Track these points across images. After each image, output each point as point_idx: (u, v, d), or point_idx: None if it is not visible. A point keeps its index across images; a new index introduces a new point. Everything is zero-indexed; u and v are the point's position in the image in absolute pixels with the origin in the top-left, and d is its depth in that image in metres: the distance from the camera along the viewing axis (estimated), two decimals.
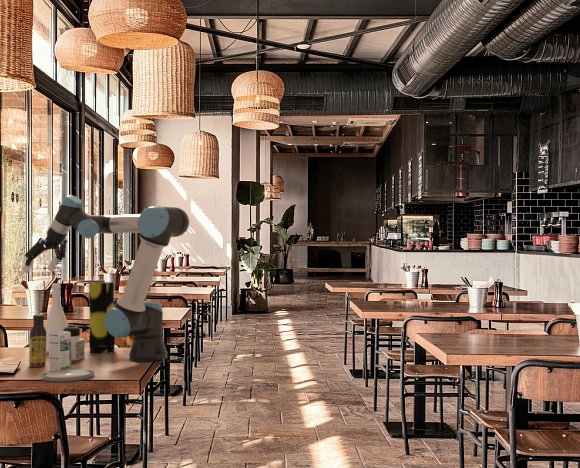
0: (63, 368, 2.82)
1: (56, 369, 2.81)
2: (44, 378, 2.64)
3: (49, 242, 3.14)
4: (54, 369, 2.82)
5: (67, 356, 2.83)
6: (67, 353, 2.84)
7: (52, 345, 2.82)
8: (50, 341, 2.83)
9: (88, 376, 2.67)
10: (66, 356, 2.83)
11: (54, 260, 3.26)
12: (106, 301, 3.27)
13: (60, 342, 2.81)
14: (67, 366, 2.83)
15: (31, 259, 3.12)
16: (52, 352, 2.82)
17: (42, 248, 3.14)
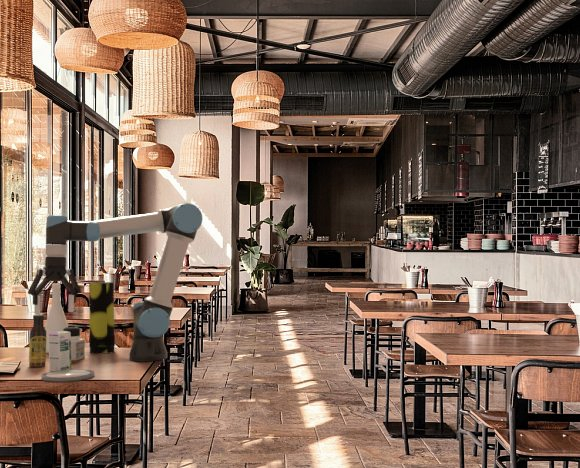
0: (63, 368, 2.82)
1: (56, 369, 2.81)
2: (44, 378, 2.64)
3: (49, 271, 2.84)
4: (54, 369, 2.82)
5: (67, 356, 2.83)
6: (67, 353, 2.84)
7: (52, 345, 2.82)
8: (50, 341, 2.83)
9: (88, 376, 2.67)
10: (66, 356, 2.83)
11: (70, 298, 2.91)
12: (106, 301, 3.27)
13: (60, 342, 2.81)
14: (67, 366, 2.83)
15: (35, 294, 2.80)
16: (52, 352, 2.82)
17: (44, 280, 2.83)
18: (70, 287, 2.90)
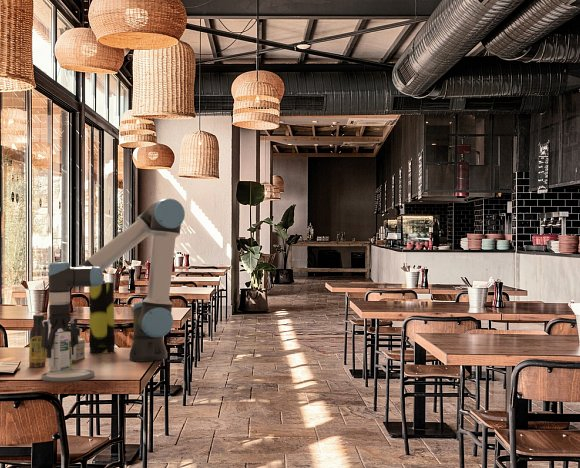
0: (63, 368, 2.82)
1: (56, 369, 2.81)
2: (44, 378, 2.64)
3: (53, 319, 2.81)
4: (54, 369, 2.82)
5: (67, 356, 2.83)
6: (67, 353, 2.84)
7: None
8: None
9: (88, 376, 2.67)
10: (66, 356, 2.83)
11: None
12: (106, 301, 3.27)
13: (60, 342, 2.81)
14: (67, 366, 2.83)
15: (49, 348, 2.80)
16: None
17: (52, 331, 2.82)
18: None
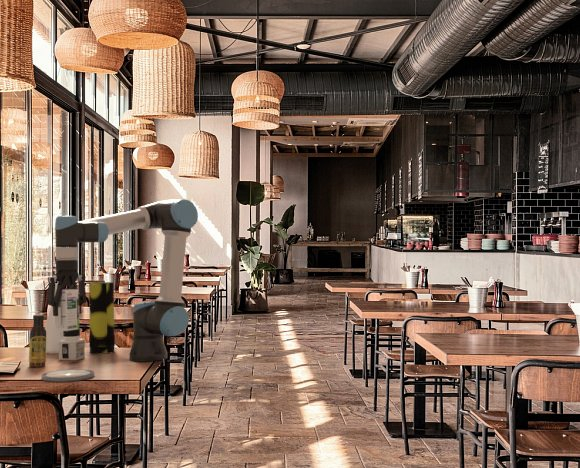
0: (70, 327, 2.68)
1: (63, 328, 2.67)
2: (44, 378, 2.64)
3: (60, 275, 2.68)
4: (61, 328, 2.68)
5: (74, 314, 2.70)
6: (75, 311, 2.70)
7: (59, 303, 2.69)
8: None
9: (88, 376, 2.67)
10: (73, 314, 2.69)
11: None
12: (106, 301, 3.27)
13: (67, 299, 2.67)
14: (74, 325, 2.69)
15: (56, 305, 2.66)
16: None
17: (59, 288, 2.68)
18: None
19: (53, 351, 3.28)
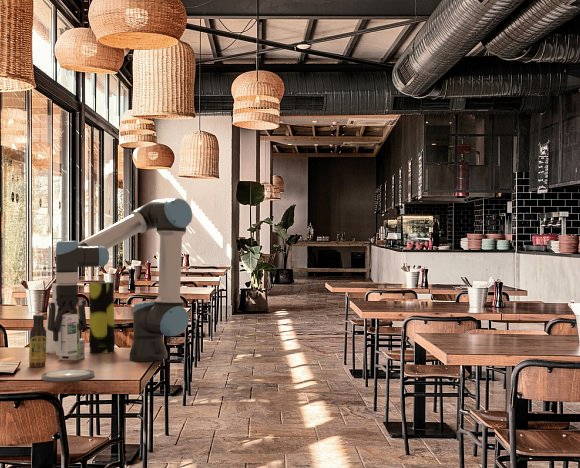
0: (70, 352, 2.68)
1: (63, 353, 2.67)
2: (44, 378, 2.64)
3: (61, 300, 2.68)
4: (61, 353, 2.68)
5: (75, 339, 2.69)
6: (75, 336, 2.70)
7: None
8: None
9: (88, 376, 2.67)
10: (74, 339, 2.69)
11: None
12: (106, 301, 3.27)
13: (67, 324, 2.67)
14: (74, 350, 2.69)
15: (56, 331, 2.66)
16: None
17: (59, 313, 2.68)
18: None
19: (53, 351, 3.28)
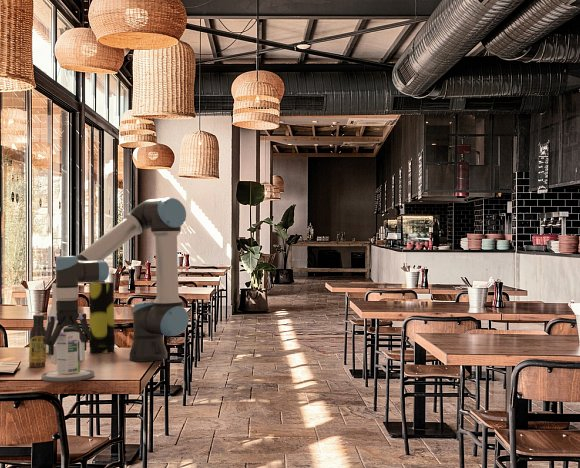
0: (71, 370, 2.68)
1: (63, 371, 2.67)
2: (44, 378, 2.64)
3: (61, 316, 2.68)
4: (61, 371, 2.68)
5: (75, 357, 2.70)
6: (75, 354, 2.70)
7: (60, 346, 2.69)
8: (58, 341, 2.70)
9: (88, 376, 2.67)
10: (74, 357, 2.69)
11: (80, 345, 2.74)
12: (106, 301, 3.27)
13: (68, 342, 2.67)
14: (75, 369, 2.69)
15: (51, 344, 2.65)
16: (59, 354, 2.69)
17: (58, 327, 2.67)
18: (81, 333, 2.73)
19: None
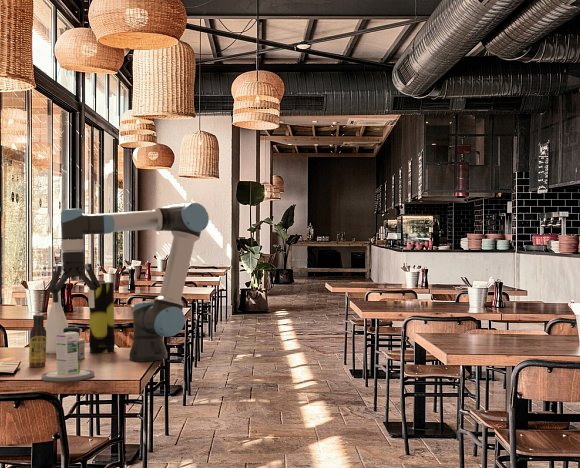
0: (71, 371, 2.68)
1: (63, 372, 2.67)
2: (44, 378, 2.64)
3: (68, 267, 2.74)
4: (61, 372, 2.68)
5: (75, 358, 2.69)
6: (75, 355, 2.69)
7: (60, 347, 2.68)
8: (57, 342, 2.69)
9: (88, 376, 2.67)
10: (74, 358, 2.69)
11: (90, 293, 2.82)
12: (106, 301, 3.27)
13: (68, 343, 2.67)
14: (75, 369, 2.69)
15: (56, 292, 2.71)
16: (59, 354, 2.69)
17: (63, 277, 2.74)
18: (89, 282, 2.81)
19: (53, 351, 3.28)
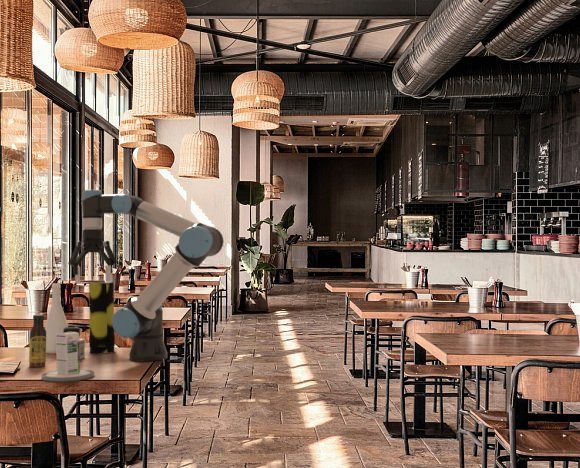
0: (71, 371, 2.68)
1: (63, 372, 2.67)
2: (44, 378, 2.64)
3: (87, 243, 3.00)
4: (61, 372, 2.68)
5: (75, 358, 2.69)
6: (75, 355, 2.69)
7: (60, 347, 2.68)
8: (57, 342, 2.69)
9: (88, 376, 2.67)
10: (74, 358, 2.69)
11: (107, 268, 3.07)
12: (106, 301, 3.27)
13: (68, 343, 2.67)
14: (75, 369, 2.69)
15: (76, 265, 2.96)
16: (59, 354, 2.69)
17: (83, 252, 2.99)
18: (107, 258, 3.06)
19: (53, 351, 3.28)
